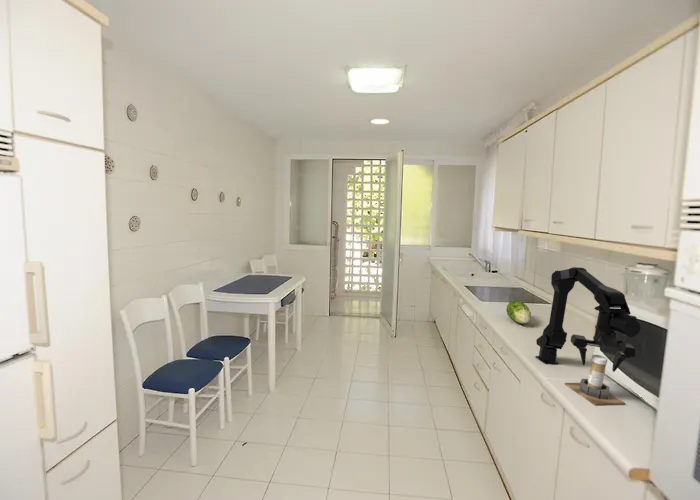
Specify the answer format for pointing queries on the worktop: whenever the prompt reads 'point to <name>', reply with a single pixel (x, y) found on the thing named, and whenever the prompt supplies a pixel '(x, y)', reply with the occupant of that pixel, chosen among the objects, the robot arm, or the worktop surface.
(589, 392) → the socket collar
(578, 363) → the worktop surface
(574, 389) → the socket board
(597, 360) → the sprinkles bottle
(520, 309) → the lettuce
